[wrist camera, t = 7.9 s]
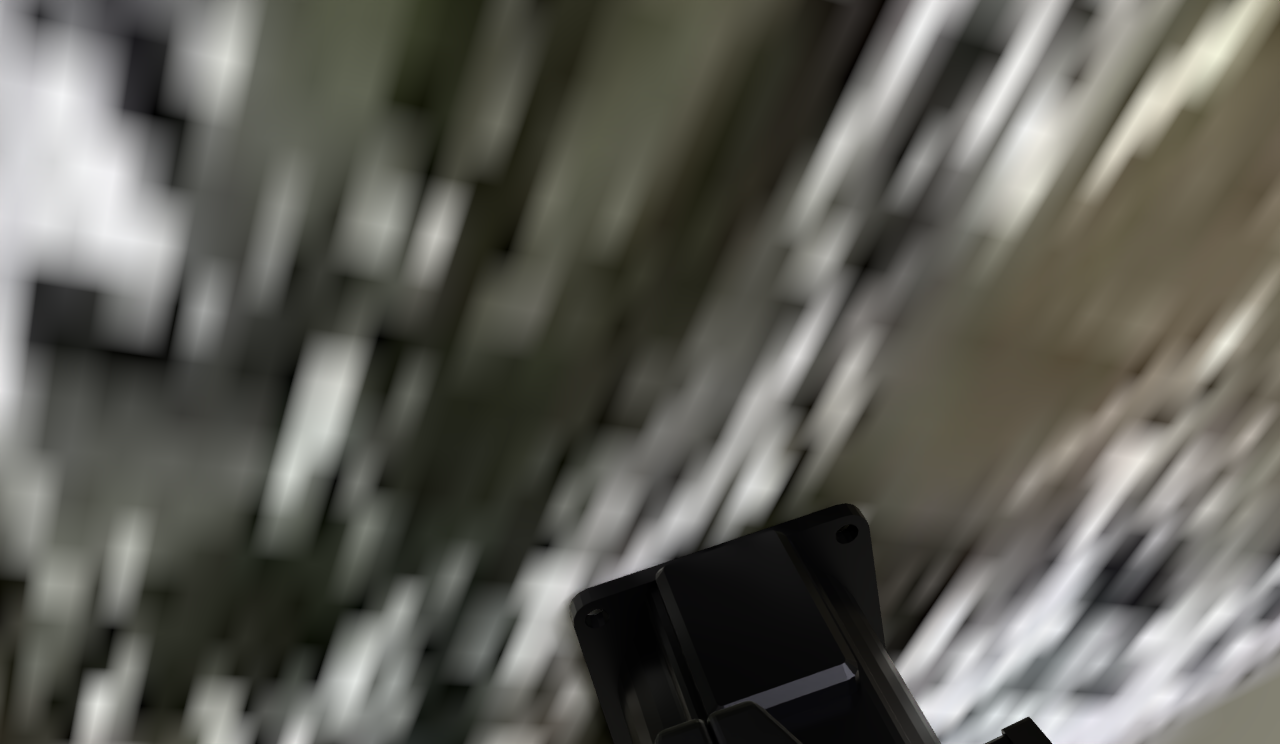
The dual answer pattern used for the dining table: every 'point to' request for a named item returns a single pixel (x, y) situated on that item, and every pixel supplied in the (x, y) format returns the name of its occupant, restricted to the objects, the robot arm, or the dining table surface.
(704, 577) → the robot arm
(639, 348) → the dining table surface
